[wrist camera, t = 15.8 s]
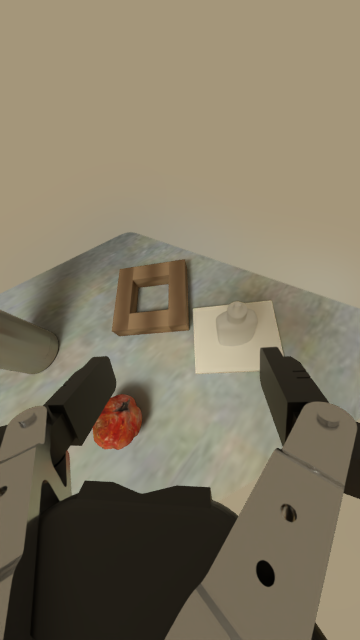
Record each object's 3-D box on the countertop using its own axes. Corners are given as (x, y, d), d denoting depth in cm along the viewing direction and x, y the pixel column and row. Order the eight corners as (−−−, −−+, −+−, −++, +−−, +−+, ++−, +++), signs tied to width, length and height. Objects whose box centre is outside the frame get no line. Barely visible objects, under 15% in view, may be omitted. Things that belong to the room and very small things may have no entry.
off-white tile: (196, 374, 35) (195, 373, 34) (193, 310, 39) (193, 308, 39) (285, 370, 32) (286, 369, 31) (270, 302, 37) (271, 300, 36)
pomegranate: (131, 450, 34) (161, 426, 29) (85, 469, 29) (111, 443, 24) (120, 407, 38) (144, 379, 33) (78, 417, 33) (98, 385, 28)
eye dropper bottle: (222, 321, 36) (220, 284, 26) (254, 329, 35) (267, 293, 24) (214, 343, 35) (209, 314, 24) (248, 353, 33) (257, 327, 23)
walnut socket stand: (119, 336, 41) (111, 331, 38) (126, 277, 46) (119, 269, 44) (189, 330, 38) (186, 324, 35) (187, 268, 44) (184, 259, 41)
